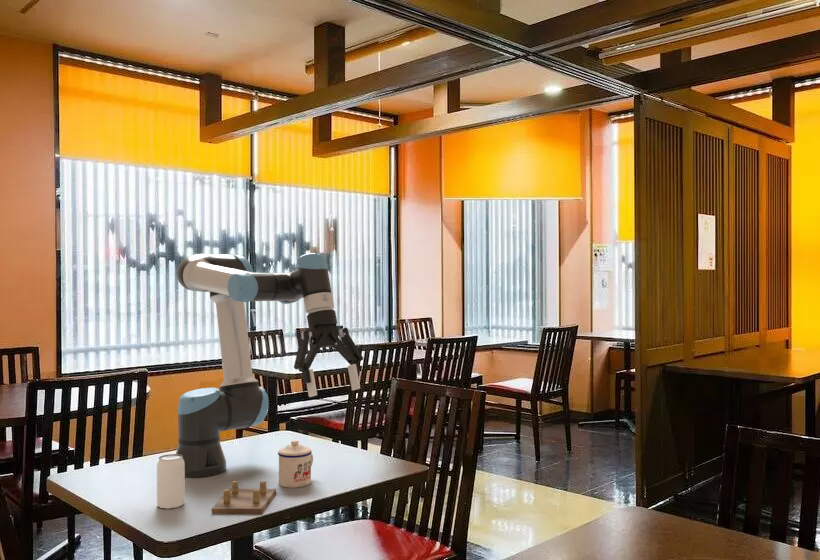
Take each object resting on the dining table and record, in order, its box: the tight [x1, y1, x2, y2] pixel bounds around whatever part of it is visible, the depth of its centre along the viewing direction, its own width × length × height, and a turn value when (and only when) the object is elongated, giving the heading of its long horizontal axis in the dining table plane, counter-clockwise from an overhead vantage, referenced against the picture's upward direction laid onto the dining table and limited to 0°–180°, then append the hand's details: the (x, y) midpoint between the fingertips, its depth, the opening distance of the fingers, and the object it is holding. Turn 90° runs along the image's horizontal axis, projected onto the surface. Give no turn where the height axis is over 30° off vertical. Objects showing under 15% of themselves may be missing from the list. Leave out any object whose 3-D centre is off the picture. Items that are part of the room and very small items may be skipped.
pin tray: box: [211, 480, 277, 515], centre depth 174 cm, size 16×12×4 cm
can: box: [156, 453, 186, 510], centre depth 172 cm, size 6×6×12 cm
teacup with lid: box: [277, 439, 314, 489], centre depth 191 cm, size 12×9×12 cm
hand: (335, 392), depth 177 cm, fingers open, 13 cm apart
